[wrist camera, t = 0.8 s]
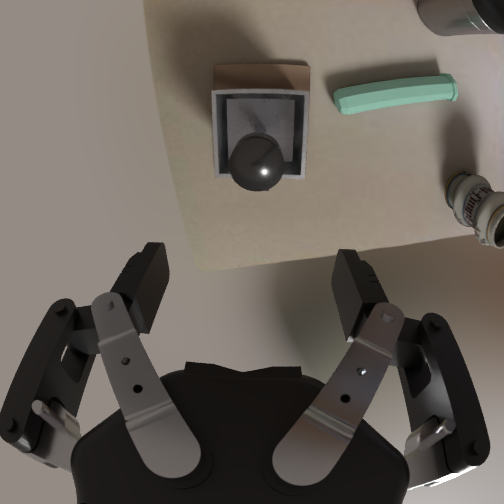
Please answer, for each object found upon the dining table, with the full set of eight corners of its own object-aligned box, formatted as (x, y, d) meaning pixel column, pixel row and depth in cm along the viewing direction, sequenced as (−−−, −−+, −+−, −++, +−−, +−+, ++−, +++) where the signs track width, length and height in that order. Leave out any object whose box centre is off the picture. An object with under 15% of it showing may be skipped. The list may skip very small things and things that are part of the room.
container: (342, 114, 37) (462, 97, 31) (329, 82, 36) (449, 68, 30) (338, 122, 43) (448, 104, 37) (327, 93, 42) (437, 77, 36)
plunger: (227, 98, 31) (195, 111, 17) (294, 99, 30) (318, 111, 16) (229, 159, 35) (203, 216, 22) (291, 160, 35) (309, 218, 21)
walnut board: (215, 65, 38) (213, 65, 37) (309, 66, 38) (310, 66, 37) (218, 169, 50) (217, 171, 49) (304, 171, 49) (305, 173, 48)
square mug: (227, 88, 40) (208, 90, 27) (294, 89, 39) (309, 91, 26) (229, 161, 48) (214, 195, 35) (292, 162, 47) (302, 197, 34)
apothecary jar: (482, 172, 44) (530, 208, 29) (468, 216, 51) (509, 259, 36) (449, 160, 44) (501, 196, 30) (434, 209, 51) (477, 255, 36)
